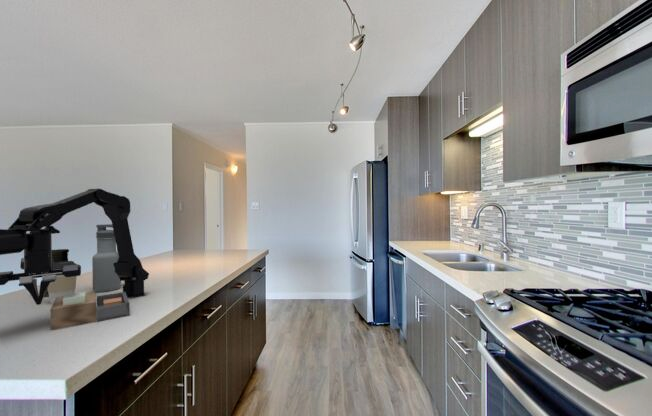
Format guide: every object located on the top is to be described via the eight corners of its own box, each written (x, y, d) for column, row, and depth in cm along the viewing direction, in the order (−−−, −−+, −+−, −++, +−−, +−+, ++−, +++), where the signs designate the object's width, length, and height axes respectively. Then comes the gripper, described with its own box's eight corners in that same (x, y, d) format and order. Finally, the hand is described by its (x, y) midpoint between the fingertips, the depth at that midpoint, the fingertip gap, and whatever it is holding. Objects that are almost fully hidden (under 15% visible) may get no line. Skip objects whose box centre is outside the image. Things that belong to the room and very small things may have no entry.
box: (125, 302, 106) (125, 291, 106) (129, 315, 93) (129, 303, 93) (97, 307, 101) (96, 296, 101) (97, 322, 88) (96, 308, 88)
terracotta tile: (103, 300, 101) (103, 305, 101) (103, 303, 97) (103, 309, 97) (121, 297, 104) (121, 302, 104) (121, 300, 100) (122, 306, 100)
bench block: (95, 308, 101) (95, 290, 101) (95, 321, 88) (95, 302, 88) (56, 315, 95) (56, 296, 95) (50, 330, 82) (50, 309, 82)
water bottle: (124, 285, 132) (123, 223, 132) (119, 290, 123) (118, 224, 123) (96, 288, 127) (95, 224, 127) (89, 293, 119) (88, 225, 119)
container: (35, 296, 117) (34, 251, 117) (62, 290, 125) (62, 248, 125) (48, 298, 113) (47, 252, 114) (75, 291, 122) (74, 249, 122)
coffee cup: (59, 298, 114) (58, 259, 114) (84, 297, 114) (83, 259, 114) (38, 305, 105) (37, 264, 105) (65, 304, 105) (64, 263, 105)
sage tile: (85, 298, 92) (85, 292, 92) (85, 302, 88) (85, 295, 88) (64, 301, 89) (64, 295, 89) (62, 305, 85) (62, 299, 85)
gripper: (81, 244, 96) (82, 292, 96) (-3, 250, 84) (-2, 304, 84) (79, 248, 87) (80, 300, 87) (-14, 255, 76) (-13, 315, 76)
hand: (38, 304), depth 84 cm, fingers closed
